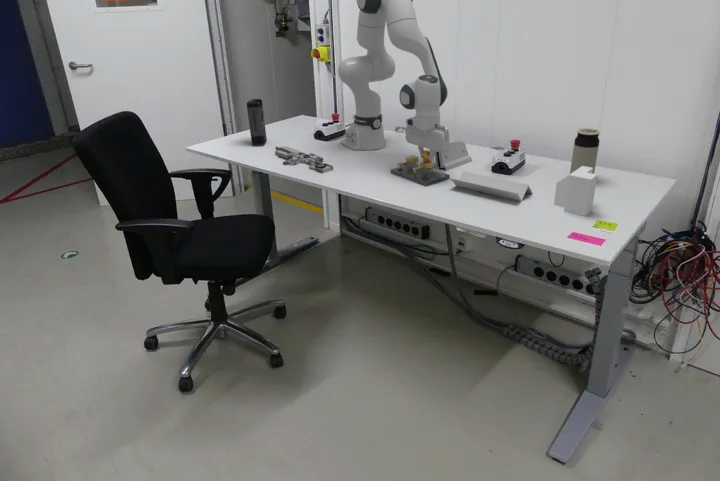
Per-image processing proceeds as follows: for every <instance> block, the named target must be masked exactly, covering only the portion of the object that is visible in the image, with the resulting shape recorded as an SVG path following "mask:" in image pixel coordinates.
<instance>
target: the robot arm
mask: <svg viewBox="0 0 720 481" xmlns="http://www.w3.org/2000/svg"><path fill="white" fill-rule="evenodd" d="M413 2H414V0H356V4H357V7H358V9H359V13H358V19H357V30H356V41H357V43H358V45H359V46H360V47H361V48H363V49H365V50H366V51H367V52H366V55H359V56H352V57H347V58H345V59H343V60H341V61H340V63H339V65H338V66H337V68H338V69H337V74H338V77H339V79H340V81H341V82H342V83H343V84H345V85H346V86H347V87H348V88H349V89H350V90H351V92H352V94H353V98H354V105H355V114H354V115H352V119H353V123H352V124H351V125H350V126H349V127H348V128H347V129H346V130H345V133H344V134H345V136H344V138H342V139H341V140H340V141H339V142H340V144H342V145H343V146H344V147H347V148H349V149H350V150H353V151H361V150H362V151H371V150H378V149H381V148H384V147H385V146H386V143H387V139H385V131H384V130H385V129H384V125H383V124H382V123H383V114H382V107H381V106H382V102H381V96H380V95H379V93H377V92H376V91H374V90H372V89H371V88H370V83H374V82H382V81H384V80H388V79H390V78H392V77H393V76H394V75H395V72H396V62H395V59H394V58H393V57H392V56H391V55H390V54H389V53H388V51H387V50H386V48H385V31H386V29H387V35H388V38H389V41H390V43H391V44H392V45H393V46H394V47H395V48H397V49H399V50H401V51H403V52H407V53H409V54H412V55H414V56H415V57H417V58H418V59H419V61H420V63H421V66H422V68H423V72H424V74H422V75H420V76H418V77H417V78H416V79H415V80H414V81H410V82H409V83H406V84H403V86H401V89H400V91H399V102H400V105H401V106H402V107H403V108H405V109H406V110H412V111H413V110H415V116H413V117H409V118H407V119H406V120H405V124H406V128H405V141H406V142H407V143H408V144H411V145H415V146H417V150H418V152H419V157H420V158H421V159H423V151H425V149H428V150H429V151H430V152H431V154H430V155H429V156H428V160H430V161H433V162H434V160H435V154H436V152H441V153H444V152H447V151H449V149H450V142H451V140H450V134H449V133H450V132H449V130H448V129H447V127H446V126H444V125H441V111H440V107H442V105H443V104H444V103H445V101H446V100H447V97H448V88H447V85H446V83H445V81H444V79H443V77H442V74H441V72H440V69H439V65H438V62H437V60H436V57H435V53H434V51H433V48H432V45H431V42H430V40H429V38H428V37H427V36H425V35H424V34H423V32H422V31H421V29H420V27H419V24H418V20H417V16H416V14H417V13H416V11H415V8H414V4H413Z"/></svg>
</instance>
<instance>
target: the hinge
mask: <svg viewBox="0 0 720 481" xmlns="http://www.w3.org/2000/svg"><path fill="white" fill-rule="evenodd" d="M468 152H469V151H468V149H467V145H466V143H465V141H458V140H457V141H456V140H455V141H450V149H449V151H447V152H444V153H441V152H436V154H435V156H434V160H435V161H434V162H435V166H436V168H435V169H436V170H438V169H443V168H444V170H445V172H447V171H450V170H452V169H456V168H459V167H460V166H463V165H466V164H470V163H471V162H473V158H472V156H470V155H469V153H468Z"/></svg>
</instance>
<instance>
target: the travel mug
mask: <svg viewBox="0 0 720 481" xmlns="http://www.w3.org/2000/svg"><path fill="white" fill-rule="evenodd" d="M576 132H577V135H576V136H575V139H574V142H573V148H572V149H573V150H572V157H571V163H570V172H569V175H570V174H571V173H573V172H574V171H576V170H577V169H579V168H580V167H582V166H586V167H591V168H593V172H592V174H595V170H596V165H597V159H598V153H599V147H600V139H599V136H600V133H601V131H600V130H599V129H597V128H591V127H588V128H587V127H582V128H578V129H576Z"/></svg>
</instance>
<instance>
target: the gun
mask: <svg viewBox="0 0 720 481" xmlns="http://www.w3.org/2000/svg"><path fill="white" fill-rule="evenodd" d="M274 154H275V155H276V156H278V157H280V158H282V159H284V161H282V166H297V165H300V164H308V165H309V169H313V170H315V172H316V173H320V174H327V173H329V172H331V171H334V166H333V165H332V164H329V163H326V162H325V163H324V162H323V161H324V157H323V156H320V155H318V154H316V153H312V152H309V154H307V153H305V152H302V151H300V150H298V149H295V148H292V147H290V146H285V145H284V146H281V147H280V146H279V147H278V146H275V150H274Z"/></svg>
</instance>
